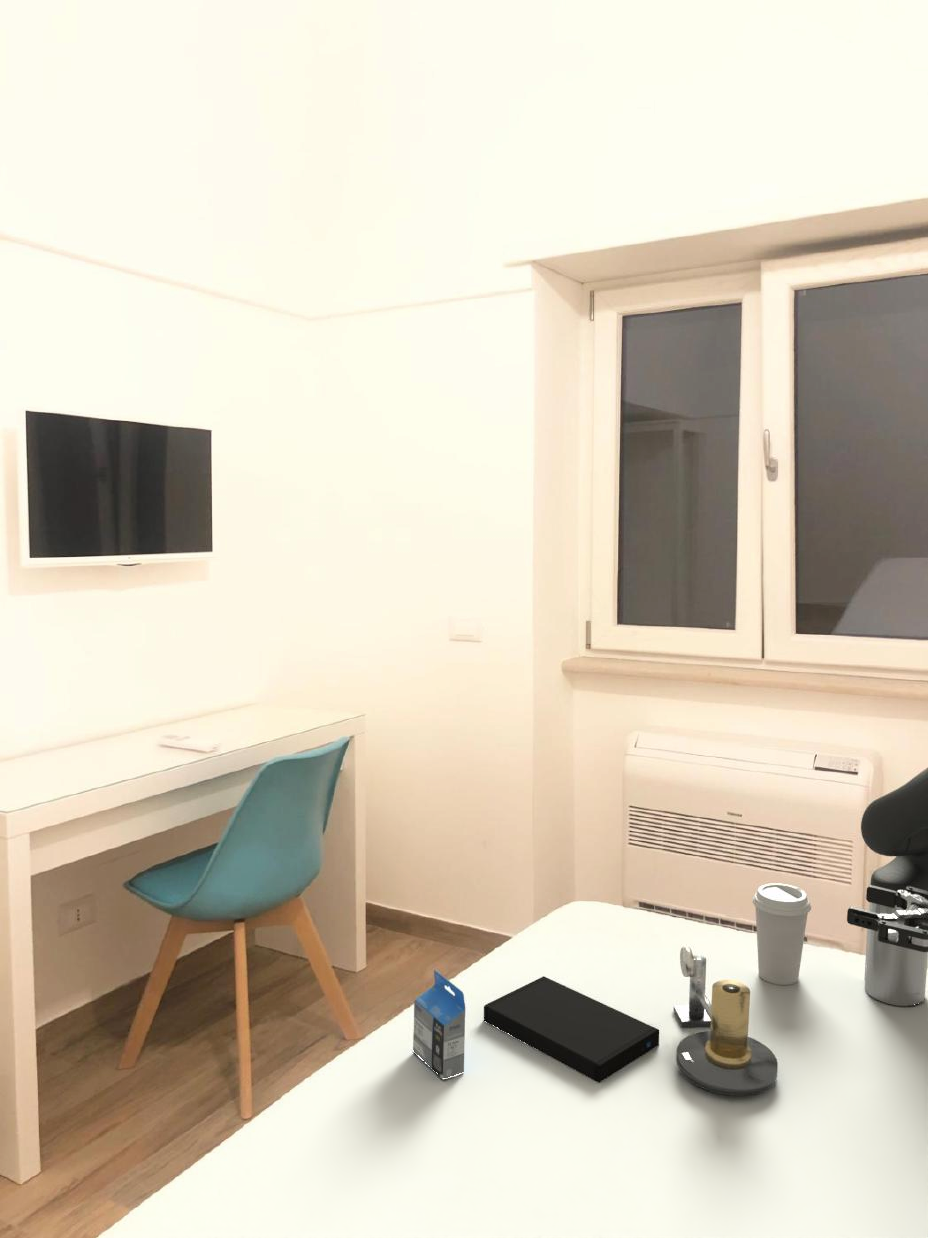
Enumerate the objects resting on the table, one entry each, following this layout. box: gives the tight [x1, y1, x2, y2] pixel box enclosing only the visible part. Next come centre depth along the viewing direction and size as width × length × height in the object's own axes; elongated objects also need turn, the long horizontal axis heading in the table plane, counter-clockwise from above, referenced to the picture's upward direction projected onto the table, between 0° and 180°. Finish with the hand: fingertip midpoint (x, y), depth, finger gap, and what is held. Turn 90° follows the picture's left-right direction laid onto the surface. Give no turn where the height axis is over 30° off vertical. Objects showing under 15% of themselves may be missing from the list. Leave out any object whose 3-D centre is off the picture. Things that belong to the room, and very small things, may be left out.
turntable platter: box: [675, 1030, 779, 1096], centre depth 148 cm, size 14×14×2 cm
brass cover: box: [705, 979, 752, 1069], centre depth 147 cm, size 6×6×10 cm
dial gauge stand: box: [673, 946, 712, 1029], centre depth 159 cm, size 12×6×12 cm, turn 3°
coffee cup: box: [752, 882, 812, 986], centre depth 176 cm, size 10×10×15 cm
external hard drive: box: [483, 976, 660, 1084], centre depth 159 cm, size 14×23×3 cm, turn 44°
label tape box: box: [412, 969, 466, 1079], centre depth 150 cm, size 9×4×12 cm, turn 32°
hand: (857, 903), depth 139 cm, fingers open, 8 cm apart
